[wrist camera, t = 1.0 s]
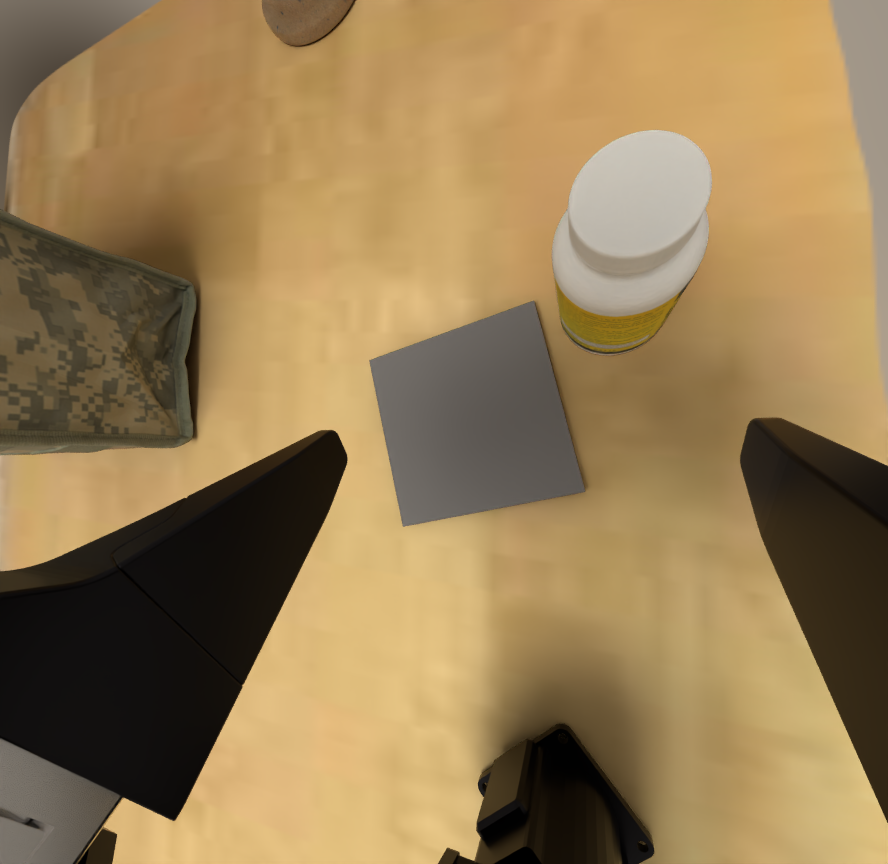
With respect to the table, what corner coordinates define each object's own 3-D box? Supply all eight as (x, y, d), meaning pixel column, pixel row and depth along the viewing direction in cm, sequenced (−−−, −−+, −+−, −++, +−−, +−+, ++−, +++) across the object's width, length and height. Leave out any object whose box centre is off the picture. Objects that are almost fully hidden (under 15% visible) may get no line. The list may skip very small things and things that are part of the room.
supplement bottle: (671, 352, 20) (747, 264, 10) (561, 362, 22) (544, 295, 12) (666, 250, 20) (736, 78, 11) (558, 268, 22) (540, 136, 13)
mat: (585, 490, 21) (585, 491, 20) (407, 524, 24) (403, 526, 24) (535, 304, 22) (533, 300, 22) (373, 362, 26) (369, 360, 25)
